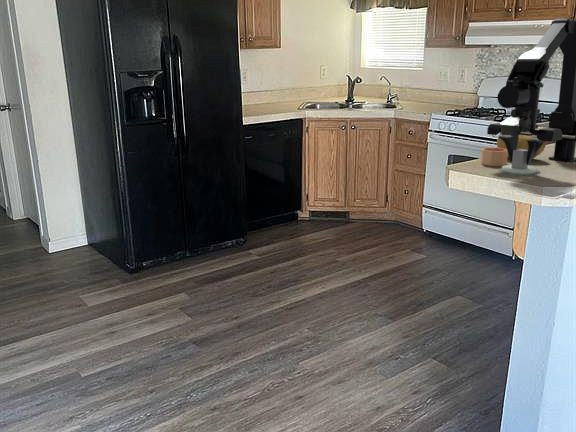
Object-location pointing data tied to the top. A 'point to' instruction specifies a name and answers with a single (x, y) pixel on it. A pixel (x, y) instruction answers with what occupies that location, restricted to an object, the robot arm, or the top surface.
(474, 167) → the top surface
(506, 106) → the robot arm
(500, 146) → the potato
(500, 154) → the cup
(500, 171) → the mat
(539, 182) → the top surface
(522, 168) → the lid
